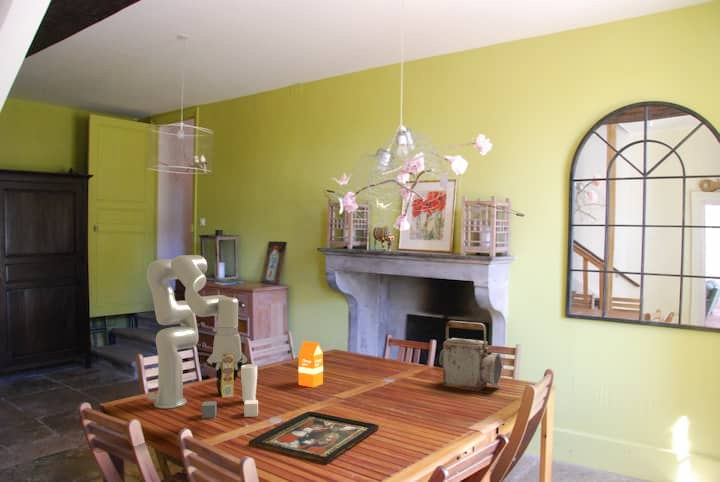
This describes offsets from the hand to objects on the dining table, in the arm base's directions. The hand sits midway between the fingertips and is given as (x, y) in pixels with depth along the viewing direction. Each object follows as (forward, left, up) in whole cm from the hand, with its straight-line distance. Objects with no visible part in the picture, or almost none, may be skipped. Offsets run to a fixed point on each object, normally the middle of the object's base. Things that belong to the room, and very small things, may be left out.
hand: (227, 379), depth 201 cm
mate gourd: (-6, +39, -17) cm, 43 cm away
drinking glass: (+6, +27, -17) cm, 32 cm away
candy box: (0, 0, -6) cm, 6 cm away
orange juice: (+33, +51, -17) cm, 63 cm away
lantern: (+107, +39, -17) cm, 115 cm away
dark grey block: (-8, +10, -17) cm, 21 cm away
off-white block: (+8, +10, -17) cm, 21 cm away
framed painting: (+32, -17, -17) cm, 40 cm away
